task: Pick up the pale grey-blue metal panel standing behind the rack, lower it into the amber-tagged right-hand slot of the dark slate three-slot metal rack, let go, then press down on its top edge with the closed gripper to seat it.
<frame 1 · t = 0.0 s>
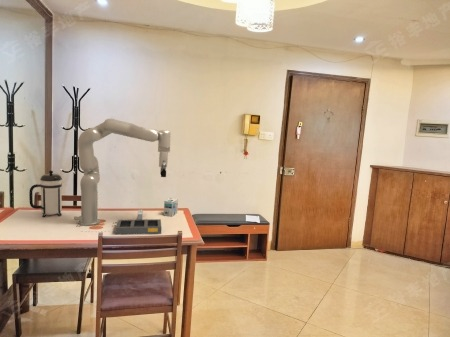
hand: (163, 175, 213), 31 cm above the table, tool pointing down, fingers open, 9 cm apart
coffee press: (49, 215, 219), on the table
light bulb box: (170, 214, 237), on the table
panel: (139, 222, 215), on the table
rack: (139, 229, 200), on the table
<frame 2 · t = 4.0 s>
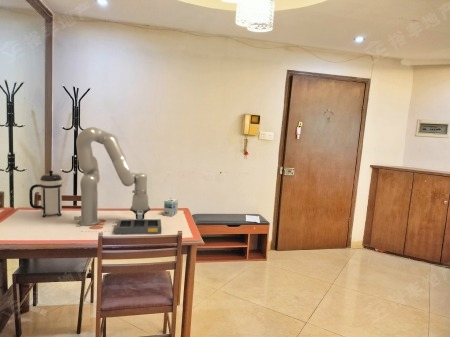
hand: (140, 219, 214), 2 cm above the table, tool pointing down, fingers closed on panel, 2 cm apart
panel: (139, 222, 215), on the table, touching gripper
everything else where it was.
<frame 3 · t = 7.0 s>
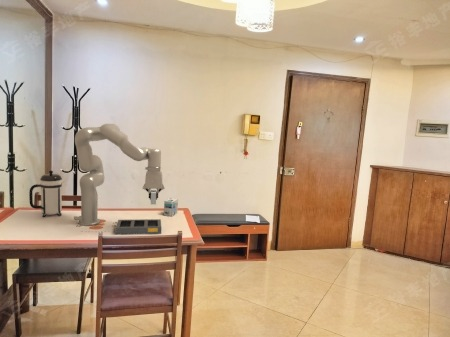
hand: (153, 198, 199), 19 cm above the table, tool pointing down, fingers closed on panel, 3 cm apart
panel: (153, 202, 199), point 17 cm above the table, touching gripper
everything else where it was.
when the fingers open (4 cm above the table, at t = 10.1 s): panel stays where it is, resting on rack.
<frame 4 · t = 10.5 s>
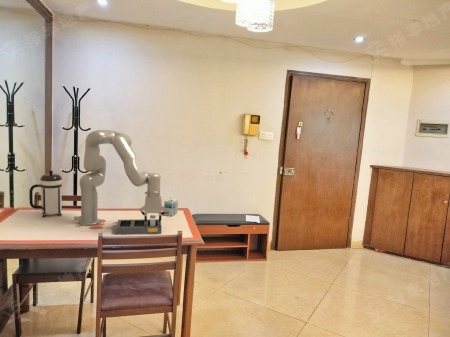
hand: (152, 221, 201), 5 cm above the table, tool pointing down, fingers open, 7 cm apart
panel: (152, 228, 202), point 1 cm above the table, touching rack
everything else where it was.
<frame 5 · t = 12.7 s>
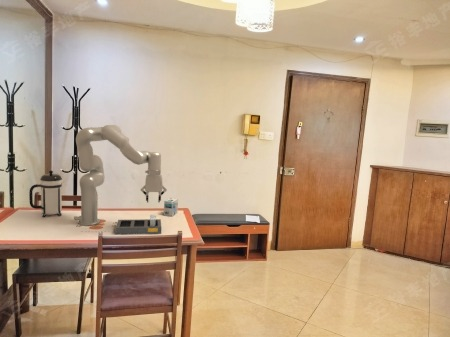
hand: (153, 201, 200), 18 cm above the table, tool pointing down, fingers open, 6 cm apart
nothing on the table moved.
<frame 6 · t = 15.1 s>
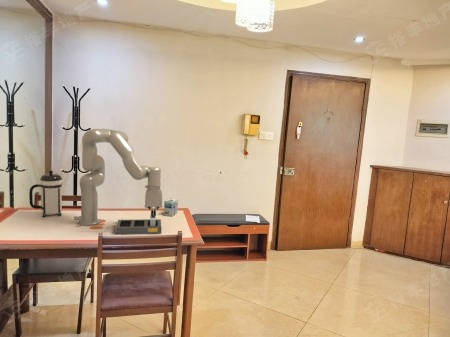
hand: (153, 216, 201), 8 cm above the table, tool pointing down, fingers closed
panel: (152, 228, 202), point 1 cm above the table, touching gripper, rack
everything else where it was.
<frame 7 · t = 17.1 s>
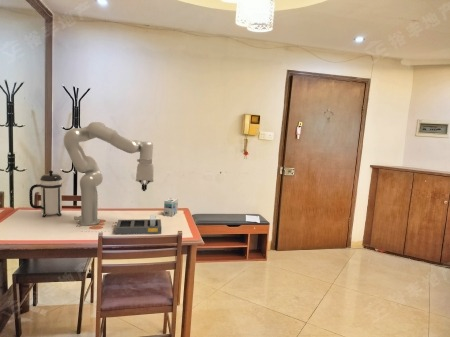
hand: (144, 190, 205), 23 cm above the table, tool pointing down, fingers closed
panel: (152, 228, 202), point 1 cm above the table, touching rack
everything else where it was.
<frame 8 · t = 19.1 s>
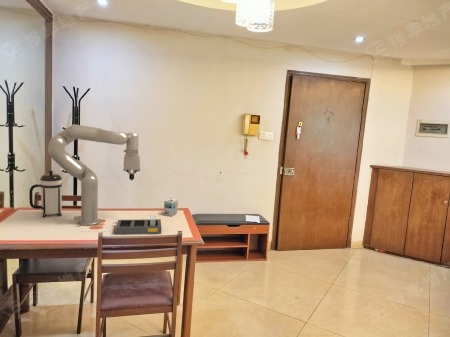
hand: (131, 179, 214), 27 cm above the table, tool pointing down, fingers closed
nothing on the table moved.
at the end: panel 0.2 cm from the target spot on the rack, point 1.0 cm above the rack's base; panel tilted 0°; the gripper is holding nothing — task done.
